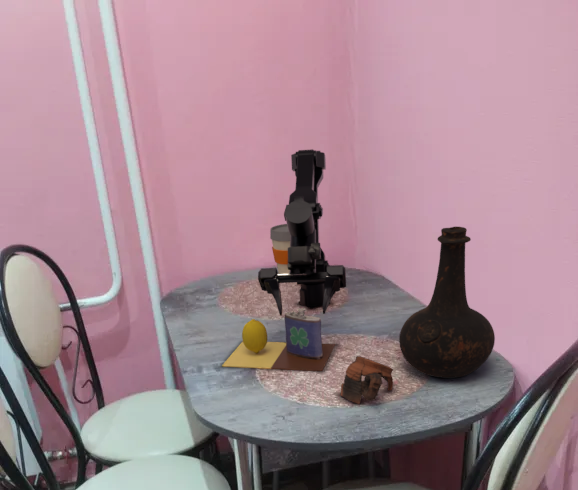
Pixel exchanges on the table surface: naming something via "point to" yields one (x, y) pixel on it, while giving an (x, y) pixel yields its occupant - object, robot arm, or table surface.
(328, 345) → the board
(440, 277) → the glass bottle
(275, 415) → the table surface
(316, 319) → the flask
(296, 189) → the robot arm
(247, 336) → the lemon
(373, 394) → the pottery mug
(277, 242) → the reusable coffee cup
